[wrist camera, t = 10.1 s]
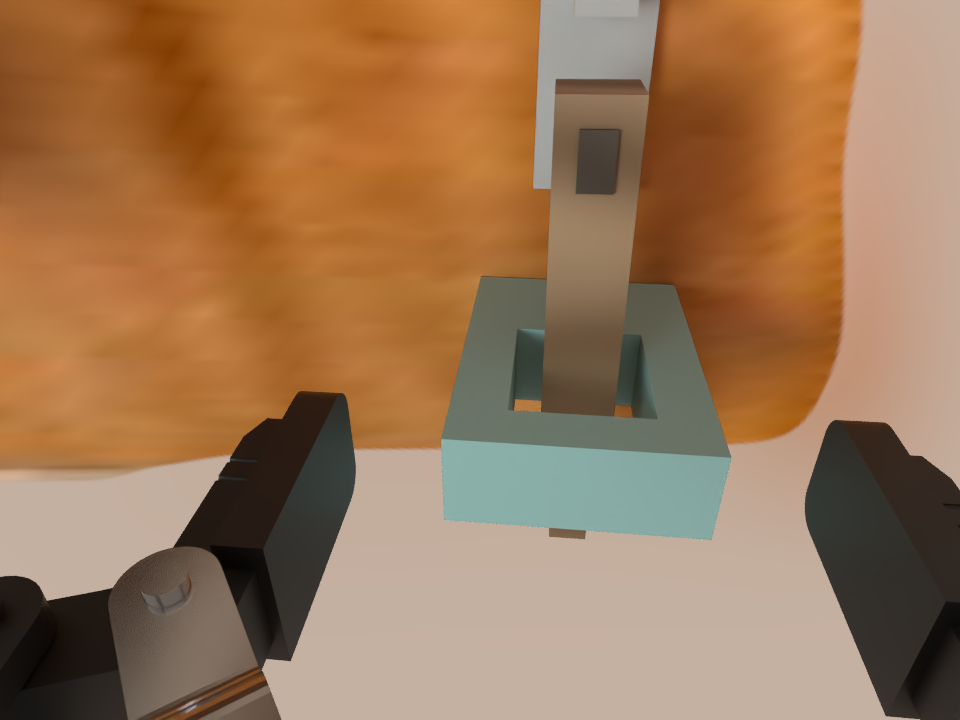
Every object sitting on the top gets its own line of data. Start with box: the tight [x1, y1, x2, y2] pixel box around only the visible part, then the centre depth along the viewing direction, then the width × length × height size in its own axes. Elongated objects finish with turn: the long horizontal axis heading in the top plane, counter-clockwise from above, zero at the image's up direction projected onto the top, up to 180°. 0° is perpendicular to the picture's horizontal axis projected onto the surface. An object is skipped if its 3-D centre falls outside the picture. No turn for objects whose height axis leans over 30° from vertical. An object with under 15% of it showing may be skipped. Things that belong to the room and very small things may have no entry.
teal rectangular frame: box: [441, 276, 731, 540], centre depth 28 cm, size 4×9×13 cm, turn 89°
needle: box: [541, 79, 649, 539], centre depth 27 cm, size 19×3×3 cm, turn 0°
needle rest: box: [533, 0, 660, 189], centre depth 25 cm, size 11×4×5 cm, turn 179°
